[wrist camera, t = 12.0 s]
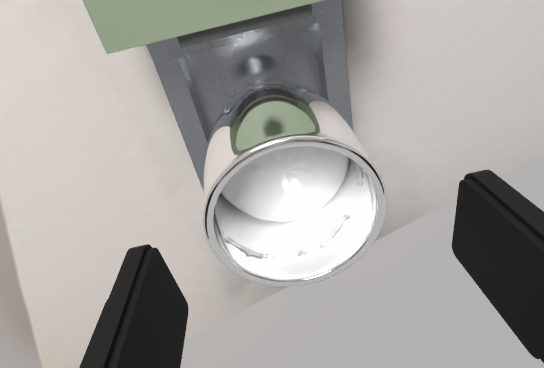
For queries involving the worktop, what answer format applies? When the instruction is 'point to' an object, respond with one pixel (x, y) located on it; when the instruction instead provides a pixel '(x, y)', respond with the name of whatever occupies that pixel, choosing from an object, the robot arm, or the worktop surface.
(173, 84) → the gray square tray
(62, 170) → the worktop surface
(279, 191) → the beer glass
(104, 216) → the worktop surface
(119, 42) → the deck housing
